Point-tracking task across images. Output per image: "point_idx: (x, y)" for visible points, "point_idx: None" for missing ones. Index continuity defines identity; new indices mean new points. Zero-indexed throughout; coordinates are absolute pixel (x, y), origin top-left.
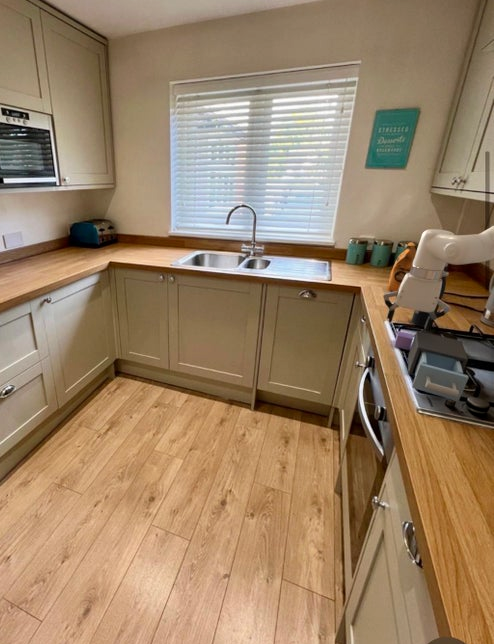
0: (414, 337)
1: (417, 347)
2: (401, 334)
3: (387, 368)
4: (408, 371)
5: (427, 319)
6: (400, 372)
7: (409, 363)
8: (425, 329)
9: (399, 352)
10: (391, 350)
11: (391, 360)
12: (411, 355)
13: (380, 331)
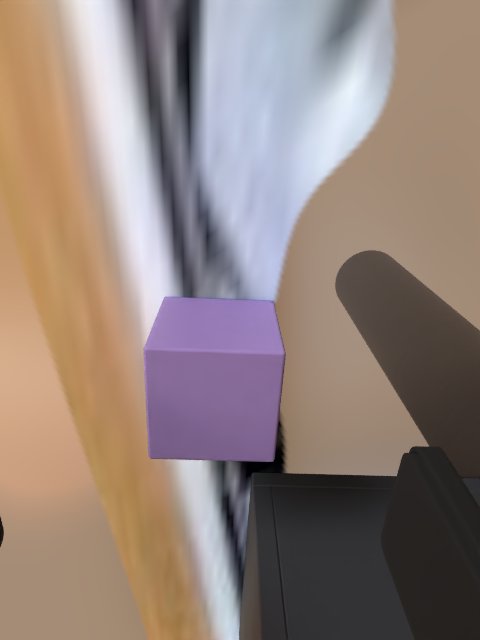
0: (260, 632)
1: None
2: (178, 417)
3: (149, 629)
4: (240, 625)
5: (462, 593)
6: (206, 631)
7: (243, 611)
8: (386, 559)
9: None
10: None
11: (161, 559)
12: (246, 635)
13: (13, 109)
